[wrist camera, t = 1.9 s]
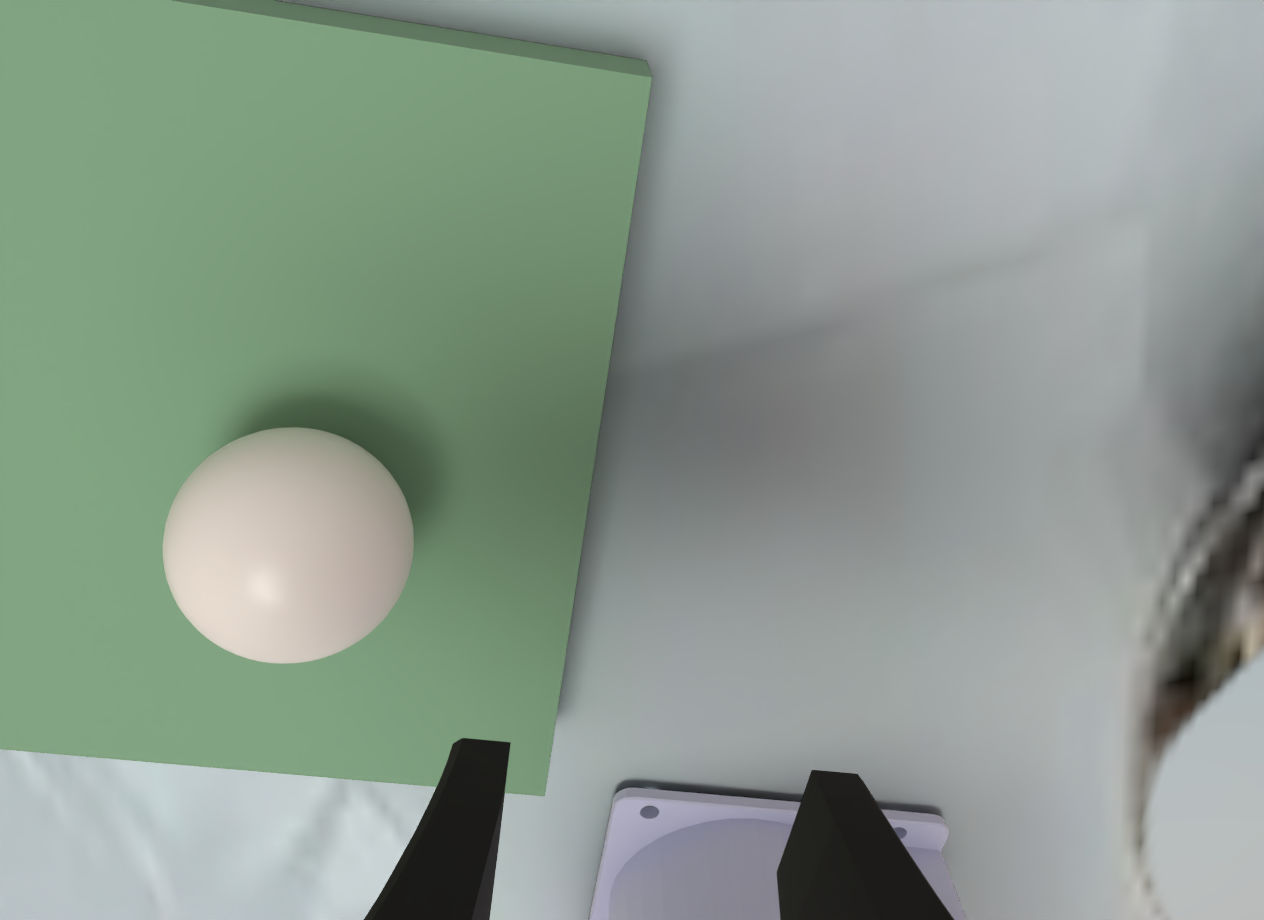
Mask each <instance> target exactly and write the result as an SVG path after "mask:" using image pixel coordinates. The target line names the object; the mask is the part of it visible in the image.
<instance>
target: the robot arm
mask: <svg viewBox="0 0 1264 920" xmlns="http://www.w3.org/2000/svg"><path fill="white" fill-rule="evenodd" d="M510 744H511V742H502V741H491V740H481V739H470V738H461V739H460V740H458V741H456V742H455V743H453V744H452V748H451V751H450V754H449V757H448V760H447V763H446V766H445V768H444V771H443V773H442V776H441V778H440V781H439V783H438V785H437V788H436V790H435V792H434V794H433V796H432V798H431V801H430V803H429V805H428V807H427V809H426V811H425V813H424V815H423V817H422V819H421V821H420V823H419V825H418V827H417V829H416V831H415V833H414V835H413V837H412V838H411V840H410V842H409V844H408V846H407V847H406V849H405V851H404V853H403V855H402V856H401V858H400V860H399V862H398V863H397V865H396V867H395V869H394V871H393V872H392V874H391V876H390V878H389V880H388V881H387V883H386V885H385V887H384V888H383V890H382V892H381V893H380V895H379V897H378V898H377V900H376V902H375V903H374V905H373V906H372V908H371V909H370V911H369V913H368V914H367V916H366V917H365V919H364V920H489V918H490V910H491V902H492V894H493V886H494V878H495V869H496V861H497V853H498V845H499V837H500V828H501V820H502V811H503V803H504V795H505V786H506V778H507V769H508V761H509V752H510ZM645 806H653V807H645ZM948 835H949V830H948V828H947V825H946V823H945V820H944V819H943V818H942V817H941V816H939V815H935V814H928V813H916V812H905V811H894V810H882V809H880V807H879V806H878V804H877V802H876V801H875V799H874V798H873V796H872V795H871V793H870V791H869V790H868V788H867V787H866V785H865V784H864V782H863V781H862V779H861V778H860V777H859V775H858V774H851V773H840V772H829V771H818V770H812V772H811V774H810V777H809V780H808V783H807V786H806V789H805V792H804V795H803V797H802V800H801V802H792V801H781V800H769V799H758V798H747V797H735V796H724V795H713V794H701V793H690V792H679V791H667V790H656V789H645V788H625V789H622V790H620V791H619V792H618V793H616V794H615V796H614V798H613V802H612V807H611V812H610V817H609V822H608V827H607V832H606V837H605V841H604V846H603V851H602V856H601V861H600V866H599V871H598V876H597V881H596V886H595V891H594V896H593V901H592V906H591V911H590V916H589V920H966V917H965V914H964V911H963V909H962V906H961V903H960V901H959V898H958V895H957V892H956V890H955V887H954V884H953V882H952V879H951V876H950V873H949V871H948V868H947V865H946V863H945V860H944V857H943V854H942V852H941V851H942V849H943V847H944V844H945V842H946V840H947V838H948Z"/></svg>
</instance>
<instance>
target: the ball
mask: <svg viewBox="0 0 1264 920" xmlns="http://www.w3.org/2000/svg"><path fill="white" fill-rule="evenodd" d="M162 547H163V563H164V569H165V574H166V579H167V582H168V585H169V587H170V590H171V592H172V595H173V597H174V599H175V601H176V603H177V605H178V607H179V608H180V610H181V611H182V612H183V614H184V615H185V617H186V618H187V619H188V620H189V621H190V622H191V623H192V625H193V626H194V627H195V628H196V629H197V630H198V631H199V632H200V633H201V634H203V635H204V636H205V637H206V638H207V639H209V640H210V641H212V642H213V643H214V644H216V645H218V646H219V647H221V648H223V649H225V650H227V651H229V652H231V653H233V654H236V655H238V656H241V657H244V658H247V659H251V660H255V661H259V662H266V663H279V664H287V663H302V662H309V661H313V660H317V659H321V658H324V657H327V656H330V655H333V654H335V653H338V652H340V651H343V650H344V649H346V648H348V647H350V646H351V645H353V644H355V643H356V642H358V641H360V640H361V639H363V638H364V637H365V636H367V635H368V634H369V633H370V632H371V631H373V630H374V629H375V628H376V627H377V626H378V625H379V624H380V623H381V622H382V621H383V620H384V619H385V618H386V616H387V615H388V613H389V612H390V611H391V609H392V608H393V606H394V605H395V604H396V602H397V601H398V599H399V597H400V595H401V593H402V591H403V589H404V587H405V584H406V582H407V579H408V576H409V573H410V569H411V565H412V560H413V552H414V533H413V524H412V519H411V514H410V511H409V508H408V505H407V502H406V499H405V497H404V495H403V493H402V491H401V489H400V487H399V485H398V484H397V482H396V481H395V479H394V478H393V477H392V475H391V474H390V472H389V471H388V470H387V469H386V468H385V467H384V465H383V464H382V463H381V462H380V461H379V460H378V459H376V458H375V457H374V456H373V455H372V454H371V453H369V452H368V451H366V450H365V449H363V448H362V447H361V446H359V445H357V444H355V443H353V442H352V441H350V440H348V439H345V438H343V437H341V436H338V435H336V434H332V433H329V432H326V431H322V430H317V429H311V428H299V427H290V428H274V429H268V430H263V431H259V432H256V433H253V434H249V435H246V436H244V437H241V438H239V439H236V440H234V441H232V442H230V443H228V444H227V445H225V446H223V447H222V448H220V449H219V450H217V451H216V452H214V453H213V454H211V455H210V456H209V457H207V458H206V459H205V460H204V461H203V462H202V463H201V464H200V465H199V466H198V467H197V468H196V469H195V470H194V471H193V472H192V473H191V474H190V476H189V477H188V478H187V479H186V481H185V482H184V483H183V485H182V487H181V488H180V490H179V491H178V493H177V495H176V497H175V499H174V501H173V503H172V506H171V508H170V511H169V514H168V517H167V520H166V523H165V530H164V538H163V546H162Z"/></svg>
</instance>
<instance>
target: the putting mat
mask: <svg viewBox="0 0 1264 920" xmlns="http://www.w3.org/2000/svg"><path fill="white" fill-rule="evenodd" d="M651 82H652V76H651V73H650V70H649V67H648V64H647V61H645V60H639V59H633V58H627V57H621V56H615V55H608V54H602V53H596V52H590V51H584V50H577V49H571V48H565V47H559V46H553V45H547V44H540V43H534V42H528V41H522V40H516V39H510V38H503V37H497V36H491V35H485V34H479V33H472V32H466V31H460V30H454V29H448V28H442V27H435V26H429V25H423V24H417V23H411V22H405V21H398V20H392V19H386V18H380V17H374V16H367V15H361V14H355V13H349V12H343V11H337V10H330V9H324V8H318V7H312V6H306V5H299V4H293V3H287V2H281V1H275V0H0V749H5V750H17V751H28V752H40V753H51V754H63V755H74V756H86V757H97V758H109V759H121V760H132V761H144V762H155V763H167V764H178V765H190V766H201V767H213V768H224V769H236V770H248V771H259V772H271V773H282V774H294V775H305V776H317V777H328V778H340V779H351V780H363V781H375V782H386V783H398V784H409V785H421V786H432V787H437V785H438V783H439V781H440V778H441V776H442V773H443V771H444V768H445V766H446V763H447V760H448V757H449V754H450V751H451V748H452V744H453V743H455V742H456V741H458V740H460V739H461V738H470V739H481V740H491V741H502V742H511V744H510V752H509V761H508V769H507V778H506V786H505V793H513V794H525V795H536V796H545V790H546V784H547V777H548V770H549V764H550V757H551V750H552V744H553V737H554V730H555V724H556V717H557V710H558V704H559V697H560V690H561V684H562V677H563V670H564V663H565V657H566V650H567V643H568V637H569V630H570V623H571V617H572V610H573V603H574V597H575V590H576V583H577V577H578V570H579V563H580V557H581V550H582V543H583V536H584V530H585V523H586V516H587V510H588V503H589V496H590V490H591V483H592V476H593V470H594V463H595V456H596V450H597V443H598V436H599V429H600V423H601V416H602V409H603V403H604V396H605V389H606V383H607V376H608V369H609V363H610V356H611V349H612V343H613V336H614V329H615V323H616V316H617V309H618V302H619V296H620V289H621V282H622V276H623V269H624V262H625V256H626V249H627V242H628V236H629V229H630V222H631V216H632V209H633V202H634V195H635V189H636V182H637V175H638V169H639V162H640V155H641V149H642V142H643V135H644V129H645V122H646V115H647V109H648V102H649V95H650V89H651ZM290 427H299V428H311V429H317V430H322V431H326V432H329V433H332V434H336V435H338V436H341V437H343V438H345V439H348V440H350V441H352V442H353V443H355V444H357V445H359V446H361V447H362V448H363V449H365V450H366V451H368V452H369V453H371V454H372V455H373V456H374V457H375V458H376V459H378V460H379V461H380V462H381V463H382V464H383V465H384V467H385V468H386V469H387V470H388V471H389V472H390V474H391V475H392V477H393V478H394V479H395V481H396V482H397V484H398V485H399V487H400V489H401V491H402V493H403V495H404V497H405V499H406V502H407V505H408V508H409V511H410V514H411V519H412V524H413V533H414V552H413V560H412V565H411V569H410V573H409V576H408V579H407V582H406V584H405V587H404V589H403V591H402V593H401V595H400V597H399V599H398V601H397V602H396V604H395V605H394V606H393V608H392V609H391V611H390V612H389V613H388V615H387V616H386V618H385V619H384V620H383V621H382V622H381V623H380V624H379V625H378V626H377V627H376V628H375V629H374V630H373V631H371V632H370V633H369V634H368V635H367V636H365V637H364V638H363V639H361V640H360V641H358V642H356V643H355V644H353V645H351V646H350V647H348V648H346V649H344V650H343V651H340V652H338V653H335V654H333V655H330V656H327V657H324V658H321V659H317V660H313V661H309V662H302V663H287V664H279V663H266V662H259V661H255V660H251V659H247V658H244V657H241V656H238V655H236V654H233V653H231V652H229V651H227V650H225V649H223V648H221V647H219V646H218V645H216V644H214V643H213V642H212V641H210V640H209V639H207V638H206V637H205V636H204V635H203V634H201V633H200V632H199V631H198V630H197V629H196V628H195V627H194V626H193V625H192V623H191V622H190V621H189V620H188V619H187V618H186V617H185V615H184V614H183V612H182V611H181V610H180V608H179V607H178V605H177V603H176V601H175V599H174V597H173V595H172V592H171V590H170V587H169V585H168V582H167V579H166V574H165V569H164V563H163V547H162V546H163V538H164V530H165V523H166V520H167V517H168V514H169V511H170V508H171V506H172V503H173V501H174V499H175V497H176V495H177V493H178V491H179V490H180V488H181V487H182V485H183V483H184V482H185V481H186V479H187V478H188V477H189V476H190V474H191V473H192V472H193V471H194V470H195V469H196V468H197V467H198V466H199V465H200V464H201V463H202V462H203V461H204V460H205V459H206V458H207V457H209V456H210V455H211V454H213V453H214V452H216V451H217V450H219V449H220V448H222V447H223V446H225V445H227V444H228V443H230V442H232V441H234V440H236V439H239V438H241V437H244V436H246V435H249V434H253V433H256V432H259V431H263V430H268V429H274V428H290Z"/></svg>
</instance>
